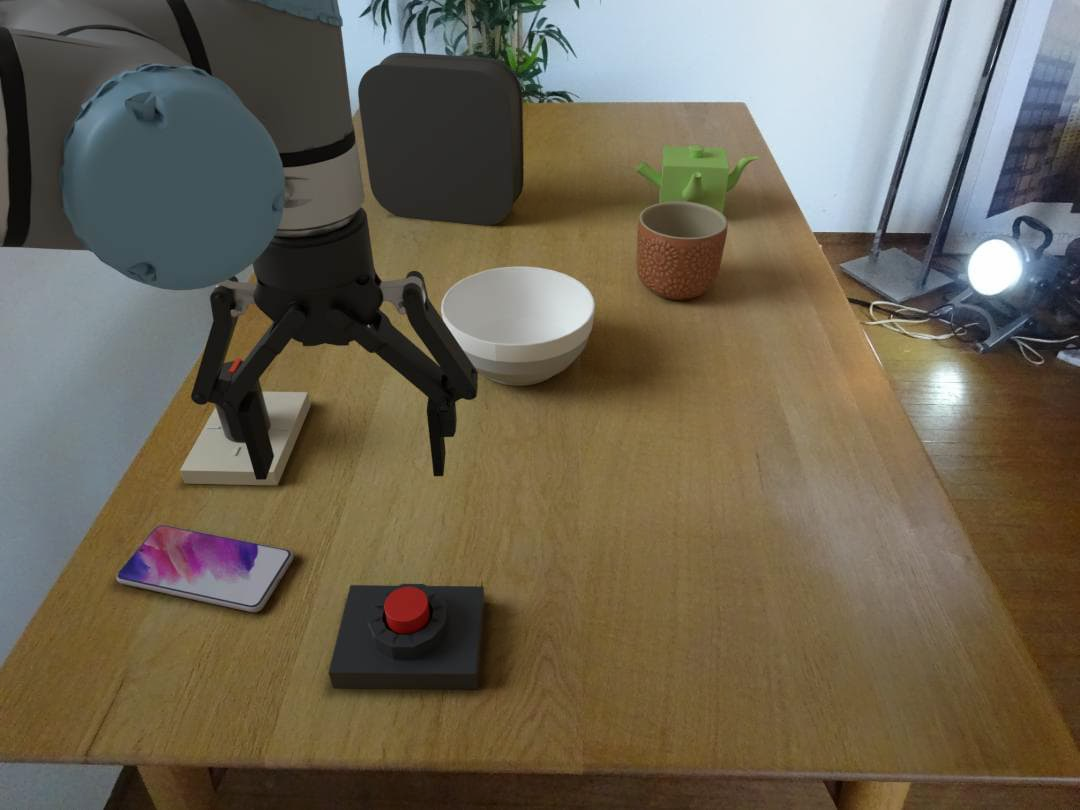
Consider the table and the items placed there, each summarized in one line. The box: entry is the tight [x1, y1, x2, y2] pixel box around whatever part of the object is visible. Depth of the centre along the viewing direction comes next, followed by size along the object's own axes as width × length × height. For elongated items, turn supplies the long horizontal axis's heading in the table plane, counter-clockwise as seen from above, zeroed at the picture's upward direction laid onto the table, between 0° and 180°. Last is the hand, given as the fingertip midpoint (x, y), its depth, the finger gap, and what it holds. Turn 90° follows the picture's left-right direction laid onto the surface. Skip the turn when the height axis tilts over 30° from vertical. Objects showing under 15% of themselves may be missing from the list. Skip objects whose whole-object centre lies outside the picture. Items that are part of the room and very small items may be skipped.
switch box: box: [328, 583, 486, 690], centre depth 69 cm, size 12×9×4 cm
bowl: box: [440, 266, 596, 387], centre depth 101 cm, size 19×19×9 cm
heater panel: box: [179, 390, 312, 487], centre depth 91 cm, size 14×10×2 cm
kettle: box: [635, 144, 760, 215], centre depth 137 cm, size 15×14×11 cm
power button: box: [384, 587, 430, 634], centre depth 67 cm, size 4×4×2 cm
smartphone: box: [115, 524, 294, 613], centre depth 76 cm, size 7×1×15 cm
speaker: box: [357, 52, 525, 226], centre depth 133 cm, size 25×9×25 cm, turn 77°
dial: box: [214, 358, 271, 443], centre depth 88 cm, size 5×5×8 cm
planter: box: [635, 201, 728, 301], centre depth 116 cm, size 12×12×11 cm
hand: (352, 466), depth 63 cm, fingers open, 13 cm apart
